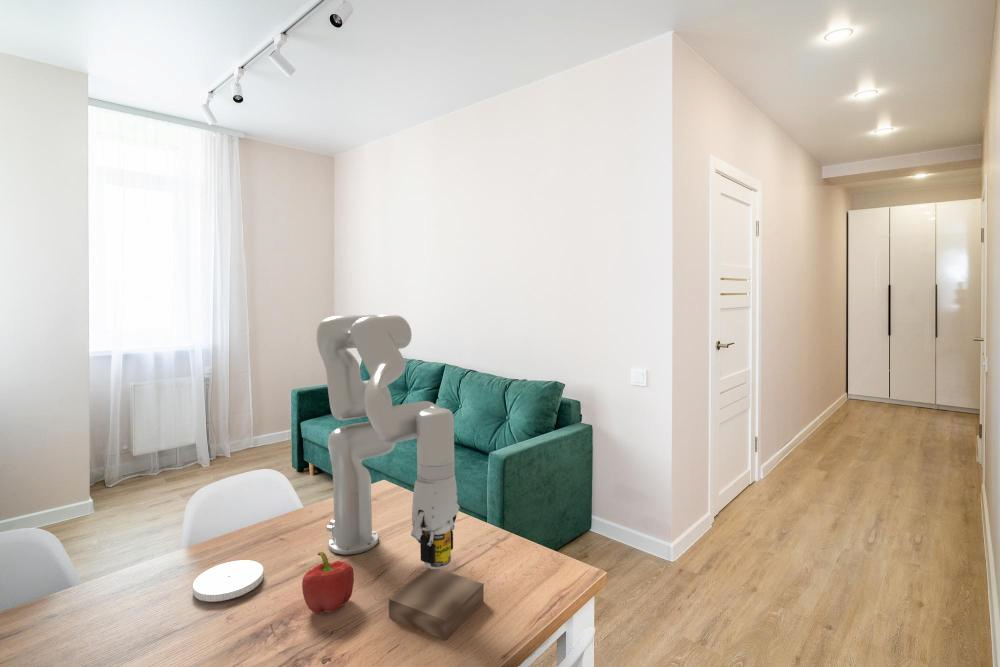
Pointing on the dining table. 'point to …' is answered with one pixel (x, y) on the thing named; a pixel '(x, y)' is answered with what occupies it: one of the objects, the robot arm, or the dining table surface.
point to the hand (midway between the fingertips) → (437, 554)
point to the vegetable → (328, 585)
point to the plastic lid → (228, 580)
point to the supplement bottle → (441, 546)
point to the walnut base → (436, 602)
